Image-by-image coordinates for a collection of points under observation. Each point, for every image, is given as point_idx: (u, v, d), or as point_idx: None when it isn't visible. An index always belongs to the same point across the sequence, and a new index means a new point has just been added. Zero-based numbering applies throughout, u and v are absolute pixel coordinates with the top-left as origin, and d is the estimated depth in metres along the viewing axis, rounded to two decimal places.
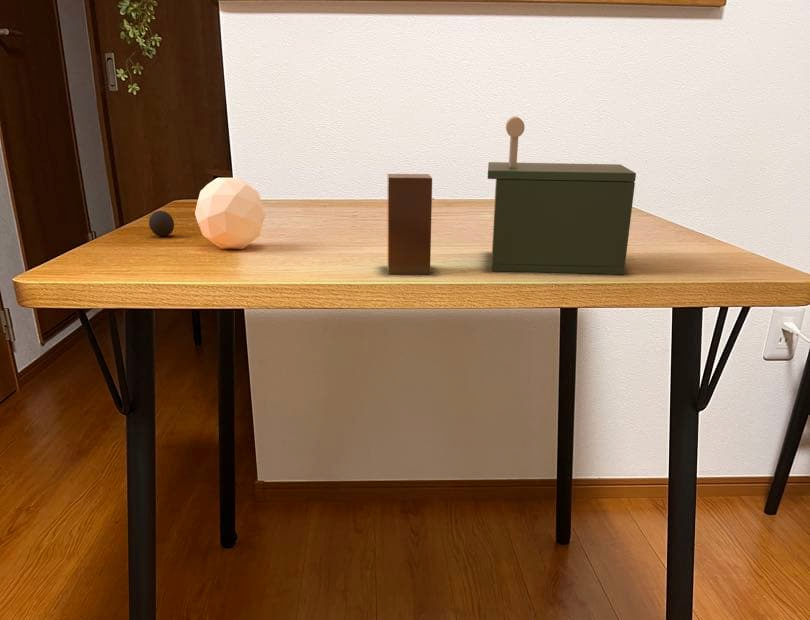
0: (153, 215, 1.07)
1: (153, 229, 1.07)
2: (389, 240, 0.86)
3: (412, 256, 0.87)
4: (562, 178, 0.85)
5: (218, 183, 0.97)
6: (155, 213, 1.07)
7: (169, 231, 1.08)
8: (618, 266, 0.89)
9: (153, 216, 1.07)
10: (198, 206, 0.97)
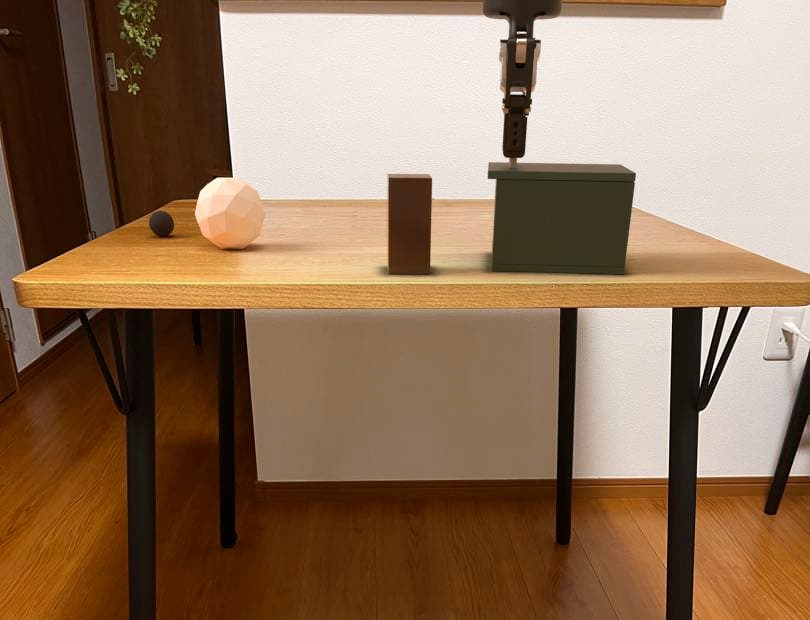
0: (153, 215, 1.07)
1: (153, 229, 1.07)
2: (389, 240, 0.86)
3: (412, 256, 0.87)
4: (562, 178, 0.85)
5: (218, 183, 0.97)
6: (155, 213, 1.07)
7: (169, 231, 1.08)
8: (618, 266, 0.89)
9: (153, 216, 1.07)
10: (198, 206, 0.97)
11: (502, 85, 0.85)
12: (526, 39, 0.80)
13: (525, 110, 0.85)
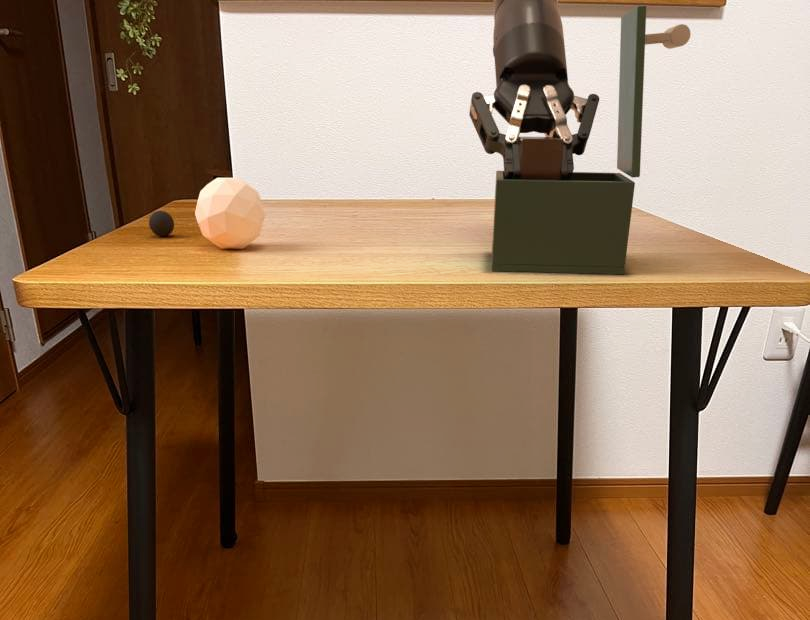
0: (153, 215, 1.07)
1: (153, 229, 1.07)
2: None
3: None
4: (636, 96, 0.82)
5: (218, 183, 0.97)
6: (155, 213, 1.07)
7: (169, 231, 1.08)
8: (618, 266, 0.89)
9: (153, 216, 1.07)
10: (198, 206, 0.97)
11: None
12: None
13: (505, 141, 0.90)
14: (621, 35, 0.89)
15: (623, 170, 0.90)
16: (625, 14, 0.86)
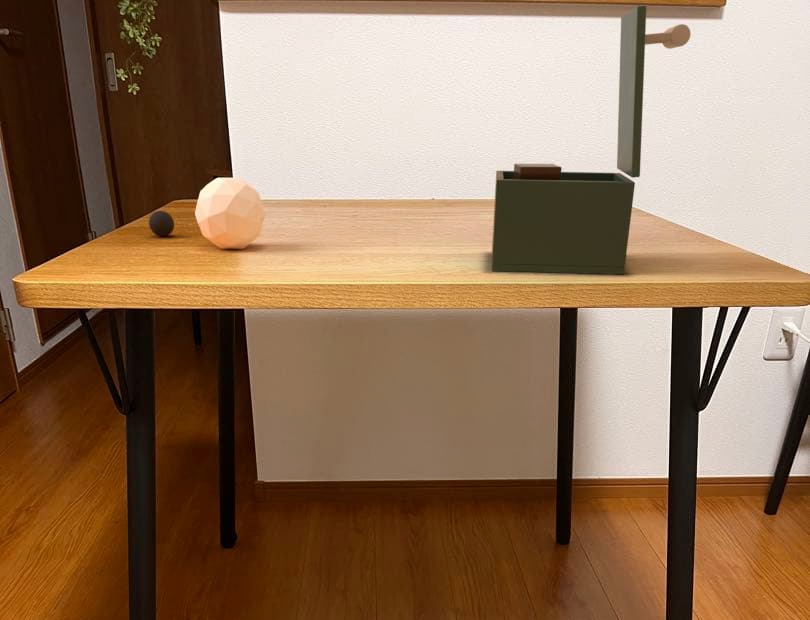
0: (153, 215, 1.07)
1: (153, 229, 1.07)
2: None
3: None
4: (636, 96, 0.82)
5: (218, 183, 0.97)
6: (155, 213, 1.07)
7: (169, 231, 1.08)
8: (618, 266, 0.89)
9: (153, 216, 1.07)
10: (198, 206, 0.97)
11: None
12: None
13: None
14: (621, 35, 0.89)
15: (623, 170, 0.90)
16: (625, 14, 0.86)
